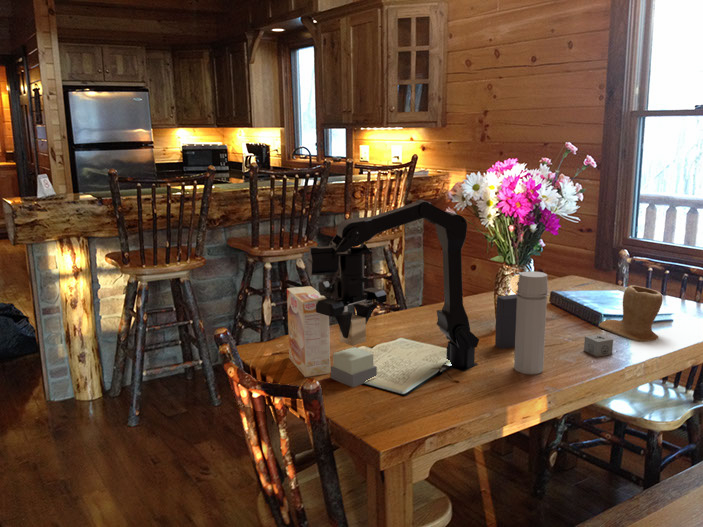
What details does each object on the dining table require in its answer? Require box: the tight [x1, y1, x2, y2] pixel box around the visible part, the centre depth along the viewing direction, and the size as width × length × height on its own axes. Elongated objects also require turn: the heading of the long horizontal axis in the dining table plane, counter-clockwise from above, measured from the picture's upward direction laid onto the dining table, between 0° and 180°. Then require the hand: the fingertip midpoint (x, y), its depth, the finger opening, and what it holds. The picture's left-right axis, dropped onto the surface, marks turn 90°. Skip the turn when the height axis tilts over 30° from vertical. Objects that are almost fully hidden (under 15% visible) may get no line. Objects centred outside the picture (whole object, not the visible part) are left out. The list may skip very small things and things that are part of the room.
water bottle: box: [513, 270, 550, 375], centre depth 159 cm, size 9×8×25 cm
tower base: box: [330, 365, 378, 388], centre depth 158 cm, size 8×8×4 cm
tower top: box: [332, 346, 374, 375], centre depth 157 cm, size 7×7×4 cm
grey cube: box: [583, 333, 614, 357], centre depth 171 cm, size 5×5×5 cm
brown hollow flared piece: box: [598, 285, 664, 343], centre depth 185 cm, size 15×12×15 cm
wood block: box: [338, 313, 367, 347], centre depth 155 cm, size 4×4×6 cm
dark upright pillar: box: [494, 293, 518, 350], centre depth 177 cm, size 11×4×15 cm, turn 110°
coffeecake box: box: [286, 285, 331, 378], centre depth 165 cm, size 15×7×20 cm, turn 21°
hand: (352, 335), depth 156 cm, fingers closed on wood block, 4 cm apart
